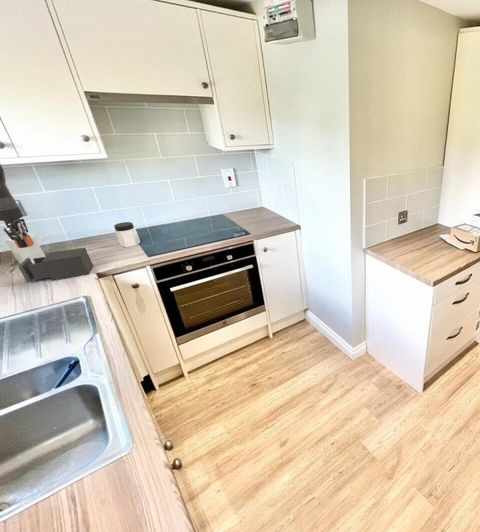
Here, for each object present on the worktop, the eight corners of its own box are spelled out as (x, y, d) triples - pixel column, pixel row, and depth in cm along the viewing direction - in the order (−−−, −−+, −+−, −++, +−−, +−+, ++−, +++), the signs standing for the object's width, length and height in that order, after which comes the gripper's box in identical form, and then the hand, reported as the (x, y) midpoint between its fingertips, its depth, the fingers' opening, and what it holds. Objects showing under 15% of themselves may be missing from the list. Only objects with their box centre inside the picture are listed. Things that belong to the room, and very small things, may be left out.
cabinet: (51, 281, 145) (41, 261, 141) (58, 271, 153) (48, 252, 149) (89, 274, 151) (80, 255, 147) (93, 265, 159) (85, 247, 155)
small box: (39, 257, 165) (26, 233, 159) (47, 259, 164) (34, 235, 158) (18, 263, 159) (4, 239, 153) (27, 265, 157) (13, 241, 151)
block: (18, 248, 137) (13, 239, 135) (21, 245, 140) (16, 236, 138) (31, 246, 139) (26, 238, 137) (34, 243, 142) (29, 235, 140)
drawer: (10, 285, 139) (0, 269, 135) (18, 276, 146) (8, 260, 142) (62, 276, 147) (54, 261, 143) (68, 268, 154) (60, 253, 151)
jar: (134, 247, 180) (127, 226, 174) (118, 247, 178) (110, 227, 173) (143, 240, 188) (135, 221, 182) (127, 241, 186) (119, 221, 181)
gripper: (-2, 204, 135) (19, 241, 143) (-17, 213, 125) (7, 253, 132) (23, 201, 139) (42, 238, 147) (11, 210, 128) (32, 249, 136)
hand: (25, 245), depth 139 cm, fingers closed on block, 4 cm apart
